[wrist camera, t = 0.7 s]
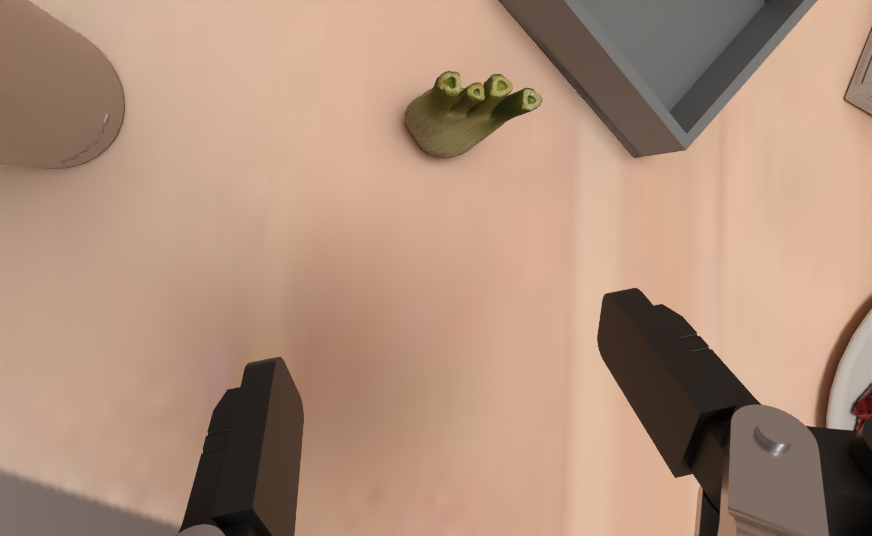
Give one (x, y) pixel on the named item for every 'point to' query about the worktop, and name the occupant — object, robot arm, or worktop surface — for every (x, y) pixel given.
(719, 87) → the bin
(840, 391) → the plated food
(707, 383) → the robot arm
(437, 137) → the fennel bulb
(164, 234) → the worktop surface
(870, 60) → the supplement box
